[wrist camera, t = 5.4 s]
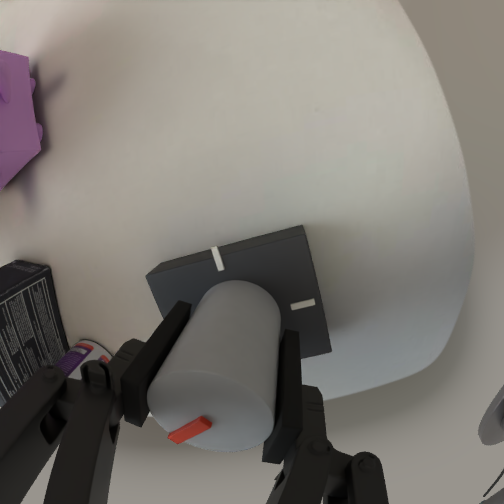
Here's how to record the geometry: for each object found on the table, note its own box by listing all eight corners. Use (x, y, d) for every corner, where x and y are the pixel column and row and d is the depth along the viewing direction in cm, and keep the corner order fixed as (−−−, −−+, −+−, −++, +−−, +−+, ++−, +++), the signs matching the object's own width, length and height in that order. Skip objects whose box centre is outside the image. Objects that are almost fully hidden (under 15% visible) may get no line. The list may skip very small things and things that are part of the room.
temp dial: (235, 262, 16) (191, 350, 8) (298, 319, 16) (303, 429, 9) (183, 315, 17) (123, 407, 9) (241, 363, 18) (216, 467, 10)
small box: (13, 257, 21) (-61, 295, 11) (51, 265, 21) (-35, 314, 11) (35, 343, 24) (-19, 392, 14) (73, 359, 24) (16, 421, 14)
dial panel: (300, 215, 17) (302, 223, 15) (328, 338, 20) (333, 360, 17) (157, 255, 19) (139, 267, 17) (202, 361, 21) (193, 383, 19)
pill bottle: (73, 361, 24) (21, 417, 15) (80, 328, 22) (15, 388, 13) (114, 390, 24) (70, 456, 15) (126, 361, 23) (71, 435, 13)
